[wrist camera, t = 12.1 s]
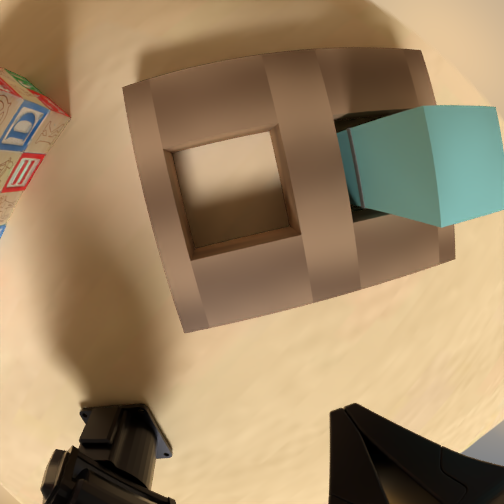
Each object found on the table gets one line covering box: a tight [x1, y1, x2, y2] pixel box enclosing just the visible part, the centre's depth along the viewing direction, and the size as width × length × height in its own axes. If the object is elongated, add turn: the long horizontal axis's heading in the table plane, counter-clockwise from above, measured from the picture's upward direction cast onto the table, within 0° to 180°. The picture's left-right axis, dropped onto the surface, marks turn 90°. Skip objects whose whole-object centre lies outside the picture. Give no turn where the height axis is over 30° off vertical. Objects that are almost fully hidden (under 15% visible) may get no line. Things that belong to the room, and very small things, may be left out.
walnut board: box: [122, 48, 455, 333], centre depth 17 cm, size 14×18×3 cm
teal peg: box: [336, 105, 504, 228], centre depth 14 cm, size 4×4×10 cm
